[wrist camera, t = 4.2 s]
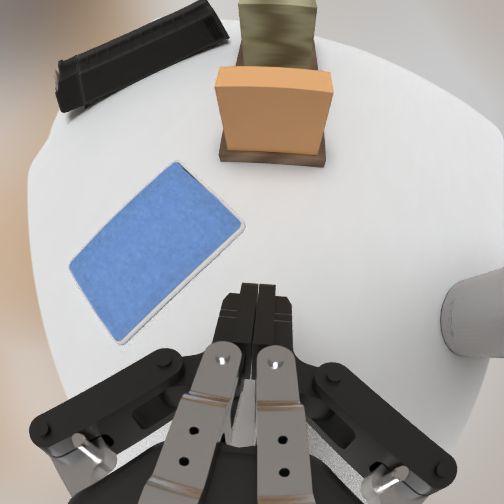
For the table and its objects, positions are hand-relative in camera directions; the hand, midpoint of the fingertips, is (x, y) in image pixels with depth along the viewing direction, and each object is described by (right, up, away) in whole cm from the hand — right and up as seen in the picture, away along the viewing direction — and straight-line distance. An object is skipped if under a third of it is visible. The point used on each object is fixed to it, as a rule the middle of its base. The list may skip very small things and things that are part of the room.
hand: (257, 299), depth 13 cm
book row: (+3, +25, +22) cm, 33 cm away
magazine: (-18, +32, +25) cm, 45 cm away
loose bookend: (+2, +15, +18) cm, 23 cm away
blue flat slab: (-12, +2, +18) cm, 21 cm away
